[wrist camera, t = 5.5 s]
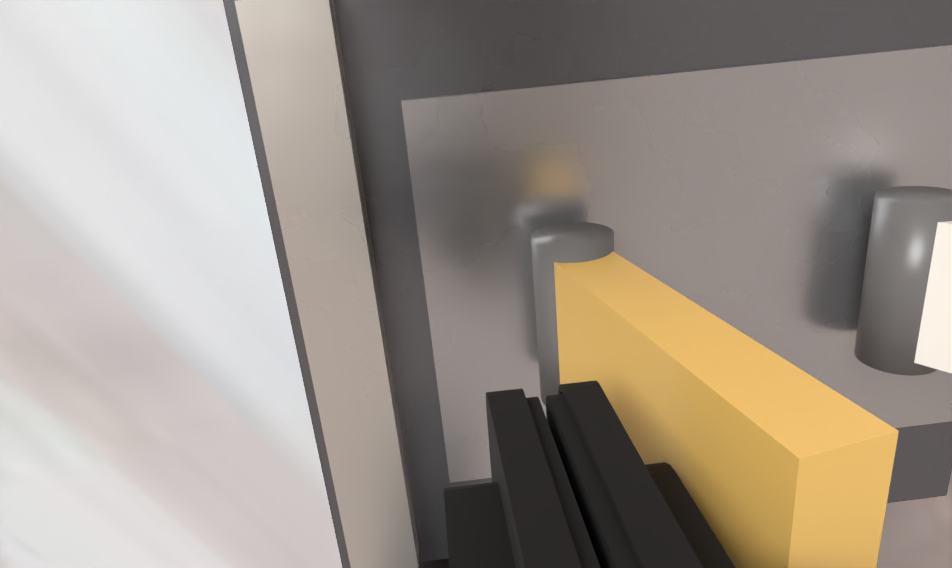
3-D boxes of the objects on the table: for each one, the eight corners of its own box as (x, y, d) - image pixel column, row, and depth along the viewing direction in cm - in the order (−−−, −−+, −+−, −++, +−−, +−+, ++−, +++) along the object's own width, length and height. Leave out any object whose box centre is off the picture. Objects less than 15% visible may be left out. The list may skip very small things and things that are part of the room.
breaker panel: (921, -76, 16) (1110, -114, 12) (855, 414, 21) (969, 515, 17) (265, -14, 16) (204, -29, 11) (357, 474, 21) (340, 596, 16)
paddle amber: (592, 217, 14) (919, 402, 7) (596, 370, 15) (874, 657, 8) (519, 230, 14) (783, 437, 6) (530, 385, 15) (759, 698, 8)
